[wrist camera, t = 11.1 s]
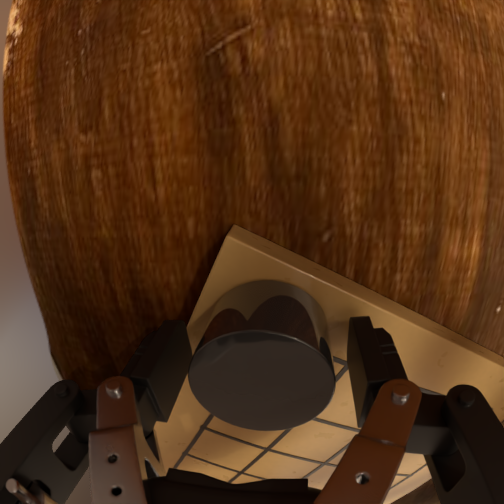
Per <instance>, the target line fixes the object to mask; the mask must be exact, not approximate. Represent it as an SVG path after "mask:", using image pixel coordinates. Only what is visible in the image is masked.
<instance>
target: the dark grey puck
mask: <svg viewBox="0 0 504 504" xmlns="http://www.w3.org/2000/svg"><path fill="white" fill-rule="evenodd" d="M188 381H189V385H190V388H191V391H192V393H193V395H194V396H195V398H196V399H197V401H198V402H199V403H200V404H201V405H202V406H203V407H204V408H205V409H206V410H207V411H208V412H209V413H211V414H212V415H214V416H215V417H217V418H218V419H220V420H222V421H224V422H226V423H229V424H231V425H234V426H237V427H240V428H244V429H249V430H256V431H279V430H286V429H291V428H294V427H297V426H300V425H303V424H305V423H307V422H309V421H311V420H313V419H314V418H316V417H317V416H318V415H320V414H321V413H322V412H323V411H324V410H325V409H326V408H327V406H328V405H329V403H330V402H331V400H332V398H333V396H334V393H335V388H336V377H335V369H334V361H333V354H332V347H331V340H330V333H329V327H328V322H327V318H326V315H325V313H324V311H323V309H322V307H321V306H320V305H319V303H318V302H317V301H316V300H315V299H314V298H313V297H312V296H311V295H309V294H308V293H307V292H305V291H304V290H302V289H300V288H298V287H296V286H294V285H291V284H288V283H284V282H280V281H273V280H260V281H253V282H248V283H245V284H242V285H239V286H237V287H235V288H233V289H231V290H230V291H228V292H227V293H225V294H224V295H223V296H222V297H221V298H220V299H219V301H218V302H217V303H216V305H215V306H214V308H213V310H212V312H211V315H210V317H209V319H208V321H207V324H206V326H205V328H204V331H203V333H202V335H201V338H200V340H199V342H198V345H197V347H196V349H195V352H194V354H193V356H192V359H191V361H190V364H189V368H188Z"/></svg>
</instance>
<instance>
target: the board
mask: <svg viewBox="0 0 504 504" xmlns="http://www.w3.org/2000/svg"><path fill="white" fill-rule="evenodd" d="M260 280H273V281H280V282H284V283H288V284H291V285H294V286H296V287H298V288H300V289H302V290H304V291H305V292H307V293H308V294H309V295H311V296H312V297H313V298H314V299H315V300H316V301H317V302H318V303H319V305H320V306H321V307H322V309H323V311H324V313H325V315H326V318H327V322H328V327H329V333H330V340H331V347H332V354H333V361H334V369H335V377H336V388H335V393H334V396H333V398H332V400H331V402H330V403H329V405H328V406H327V408H326V409H325V410H324V411H323V412H322V413H321V414H320V415H318V416H317V417H316V418H314V419H313V420H311V421H309V422H307V423H305V424H303V425H300V426H297V427H294V428H291V429H286V430H279V431H256V430H249V429H244V428H240V427H237V426H234V425H231V424H229V423H226V422H224V421H222V420H220V419H218V418H217V417H215V416H214V415H212V414H211V413H209V412H208V411H207V410H206V409H205V408H204V407H203V406H202V405H201V404H200V403H199V402H198V401H197V399H196V398H195V396H194V395H193V393H192V391H191V388H190V385H189V381H188V374H187V376H186V378H185V381H184V383H183V386H182V388H181V390H180V393H179V395H178V398H177V400H176V402H175V405H174V407H173V410H172V412H171V414H170V417H169V419H168V422H167V423H165V422H158V421H156V423H155V425H154V429H155V431H156V435H157V439H158V444H159V448H160V452H161V457H162V461H163V465H164V468H165V471H166V473H167V471H168V469H169V468H174V469H179V470H185V471H192V472H199V473H202V474H205V475H208V476H211V477H214V478H216V479H219V480H222V481H225V482H229V483H232V484H240V483H247V482H254V481H261V480H266V479H302V478H308V487H313V488H317V489H320V490H322V489H323V487H324V486H325V484H326V483H327V481H328V480H329V478H330V476H331V475H332V473H333V472H334V470H335V468H336V467H337V465H338V463H339V461H340V460H341V458H342V456H343V455H344V453H345V451H346V449H347V448H348V446H349V444H350V442H351V440H352V439H353V437H354V436H355V434H358V433H359V432H360V430H361V428H358V426H357V419H356V412H355V406H354V400H353V394H352V388H351V382H350V376H349V370H348V365H347V341H348V330H349V319H350V317H358V316H369V317H370V319H371V322H372V324H373V327H374V328H382V327H383V328H384V329H385V330H386V331H387V332H388V333H389V334H390V335H391V336H392V339H393V341H394V344H395V346H396V349H397V351H398V354H399V356H400V359H401V361H402V364H403V367H404V369H405V372H406V375H407V377H408V380H409V381H412V382H414V383H415V384H416V385H417V386H418V387H419V388H420V390H421V392H423V393H426V394H433V395H445V396H446V395H447V393H448V391H449V390H450V389H451V388H452V387H454V386H456V385H460V384H467V385H471V386H474V387H476V388H477V389H478V390H480V391H481V393H482V394H483V396H484V397H485V399H486V400H487V402H488V403H489V405H490V406H491V408H492V410H493V411H494V413H495V414H496V416H497V418H498V419H499V421H500V422H501V421H502V420H503V419H504V358H503V357H502V356H500V355H498V354H496V353H494V352H492V351H490V350H488V349H486V348H484V347H482V346H481V345H479V344H477V343H475V342H473V341H471V340H469V339H467V338H465V337H463V336H461V335H459V334H457V333H455V332H453V331H451V330H449V329H448V328H446V327H444V326H442V325H440V324H438V323H436V322H434V321H432V320H430V319H428V318H426V317H424V316H422V315H420V314H418V313H416V312H414V311H412V310H410V309H408V308H406V307H404V306H402V305H400V304H398V303H396V302H394V301H392V300H390V299H388V298H386V297H384V296H382V295H380V294H378V293H376V292H374V291H372V290H370V289H368V288H366V287H364V286H362V285H360V284H358V283H356V282H354V281H352V280H350V279H347V278H345V277H343V276H341V275H339V274H337V273H335V272H333V271H331V270H329V269H327V268H325V267H323V266H321V265H319V264H317V263H315V262H313V261H310V260H308V259H306V258H304V257H302V256H300V255H298V254H296V253H294V252H292V251H290V250H288V249H285V248H283V247H281V246H279V245H277V244H275V243H273V242H271V241H269V240H267V239H264V238H262V237H260V236H258V235H256V234H254V233H252V232H250V231H247V230H245V229H243V228H241V227H239V226H237V225H233V226H232V227H231V229H230V231H229V232H228V234H227V236H226V237H225V240H224V242H223V244H222V246H221V249H220V251H219V253H218V255H217V258H216V260H215V262H214V264H213V267H212V269H211V271H210V274H209V276H208V278H207V281H206V283H205V285H204V287H203V290H202V292H201V294H200V297H199V299H198V301H197V304H196V306H195V308H194V311H193V313H192V315H191V318H190V320H189V323H188V325H187V327H186V329H187V333H188V337H189V341H190V345H191V349H192V356H193V354H194V352H195V349H196V347H197V345H198V342H199V340H200V338H201V335H202V333H203V331H204V328H205V326H206V324H207V321H208V319H209V317H210V315H211V312H212V310H213V308H214V306H215V305H216V303H217V302H218V301H219V299H220V298H221V297H222V296H223V295H224V294H225V293H227V292H228V291H230V290H231V289H233V288H235V287H237V286H239V285H242V284H245V283H248V282H253V281H260ZM431 478H432V477H431V474H430V472H429V469H428V466H427V464H426V461H425V458H424V456H423V454H412V453H405V454H404V457H403V459H402V462H401V464H400V467H399V469H398V472H397V474H396V476H395V479H394V481H393V483H392V486H391V488H390V490H389V492H388V494H387V497H386V499H385V501H384V503H383V504H390V503H392V502H394V501H395V500H397V499H399V498H401V497H402V496H404V495H406V494H407V493H409V492H411V491H412V490H414V489H416V488H417V487H419V486H420V485H422V484H423V483H425V482H426V481H428V480H429V479H431Z"/></svg>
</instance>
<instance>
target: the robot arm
mask: <svg viewBox="0 0 504 504" xmlns="http://www.w3.org/2000/svg"><path fill="white" fill-rule="evenodd" d="M191 359H192V349H191V345H190V341H189V337H188V333H187V329H186V325H185V322H184V321H183V320H165V321H164V322H163V323H162V325H161V326H160V328H159V329H158V331H153V332H152V333H150V334H149V335H148V336H146V337H145V338H144V339H143V341H142V342H141V344H140V345H139V348H137V350H136V352H135V354H134V355H133V356H132V358H131V359H130V361H129V362H128V364H127V365H126V367H125V368H124V370H123V372H122V373H121V375H120V376H114V377H110V378H108V379H106V380H104V381H103V382H102V383H101V384H100V385H99V387H98V389H94V390H80V388H79V386H78V384H77V383H76V382H75V381H73V380H62V381H59V382H57V383H55V384H54V385H53V386H52V387H50V389H49V390H48V391H47V392H46V393H45V394H44V395H43V396H42V397H41V398H40V400H39V401H38V402H37V403H36V404H35V405H34V406H33V407H32V409H30V411H29V412H28V413H27V414H26V415H25V416H24V417H23V418H22V420H21V421H20V422H19V423H18V424H17V425H16V426H15V428H14V429H13V430H12V431H11V432H10V433H9V435H8V436H7V437H6V438H5V439H4V440H3V442H2V443H1V444H0V504H65V502H66V500H67V499H68V497H69V496H70V494H71V493H72V491H73V490H74V488H75V486H76V485H77V484H78V482H79V481H80V479H81V477H82V476H83V475H84V473H85V471H86V470H87V468H88V467H89V473H90V488H91V500H92V504H383V503H384V501H385V499H386V497H387V494H388V492H389V490H390V488H391V486H392V483H393V481H394V479H395V476H396V474H397V472H398V469H399V467H400V464H401V462H402V459H403V457H404V454H405V453H412V454H423V456H424V458H425V461H426V464H427V466H428V469H429V472H430V474H431V477H432V480H433V483H434V485H435V488H436V491H437V494H438V497H439V500H440V503H441V504H504V428H503V426H502V424H501V423H500V421H499V419H498V418H497V416H496V414H495V413H494V411H493V410H492V408H491V406H490V405H489V403H488V402H487V400H486V399H485V397H484V396H483V394H482V393H481V391H480V390H478V389H477V388H476V387H474V386H471V385H467V384H460V385H456V386H454V387H452V388H451V389H450V390H449V391H448V393H447V395H446V396H445V395H433V394H426V393H423V392H421V390H420V388H419V387H418V386H417V385H416V384H415V383H414V382H412V381H409V380H408V377H407V375H406V372H405V369H404V367H403V364H402V361H401V359H400V356H399V354H398V351H397V349H396V346H395V344H394V341H393V339H392V336H391V335H390V334H389V333H388V332H387V331H386V330H385V329H384V328H383V327H382V328H374V327H373V324H372V322H371V319H370V317H369V316H358V317H350V319H349V330H348V341H347V365H348V370H349V376H350V382H351V388H352V394H353V400H354V406H355V412H356V419H357V426H358V428H361V430H360V432H359V433H358V434H355V436H354V437H353V439H352V440H351V442H350V444H349V446H348V448H347V449H346V451H345V453H344V455H343V456H342V458H341V460H340V461H339V463H338V465H337V467H336V468H335V470H334V472H333V473H332V475H331V476H330V478H329V480H328V481H327V483H326V484H325V486H324V487H323V489H322V490H320V489H317V488H313V487H308V478H302V479H266V480H261V481H254V482H247V483H240V484H232V483H229V482H225V481H222V480H219V479H216V478H214V477H211V476H208V475H205V474H202V473H199V472H192V471H185V470H179V469H174V468H169V469H168V471H167V473H166V471H165V468H164V465H163V461H162V457H161V452H160V448H159V444H158V439H157V435H156V431H155V429H154V425H155V423H156V421H158V422H165V423H167V422H168V419H169V417H170V414H171V412H172V410H173V407H174V405H175V402H176V400H177V398H178V395H179V393H180V390H181V388H182V386H183V383H184V381H185V378H186V376H187V374H188V368H189V364H190V361H191ZM65 426H67V428H68V429H69V430H70V433H69V435H67V437H66V438H65V439H64V441H63V442H62V443H61V445H60V446H59V447H58V449H57V450H56V452H55V453H54V452H53V450H52V444H53V441H54V440H55V439H56V437H57V436H58V435H59V433H60V432H61V431H62V430H63V428H64V427H65Z"/></svg>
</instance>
